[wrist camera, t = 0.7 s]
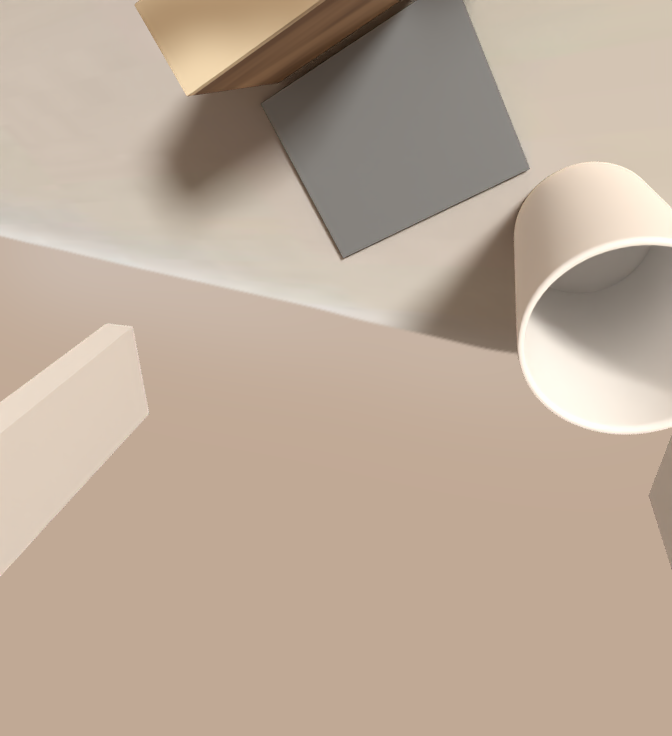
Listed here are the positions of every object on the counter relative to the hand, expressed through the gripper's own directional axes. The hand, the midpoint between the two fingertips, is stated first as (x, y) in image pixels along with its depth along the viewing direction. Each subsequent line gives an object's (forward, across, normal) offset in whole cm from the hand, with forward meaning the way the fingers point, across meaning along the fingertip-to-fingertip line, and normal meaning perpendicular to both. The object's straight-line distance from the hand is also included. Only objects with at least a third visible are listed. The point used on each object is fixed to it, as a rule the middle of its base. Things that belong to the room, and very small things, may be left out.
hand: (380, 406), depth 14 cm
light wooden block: (+26, -8, +9) cm, 29 cm away
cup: (+26, +8, -3) cm, 27 cm away
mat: (+26, -4, +2) cm, 26 cm away
